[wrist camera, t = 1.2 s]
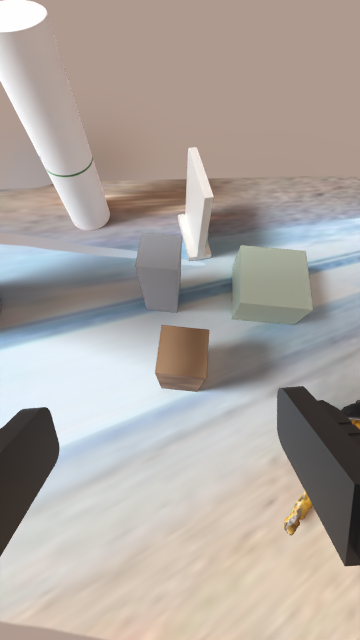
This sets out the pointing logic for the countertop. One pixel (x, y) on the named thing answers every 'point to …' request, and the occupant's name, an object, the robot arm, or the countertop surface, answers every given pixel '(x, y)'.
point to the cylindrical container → (49, 109)
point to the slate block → (159, 270)
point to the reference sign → (196, 209)
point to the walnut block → (182, 358)
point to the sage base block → (270, 285)
